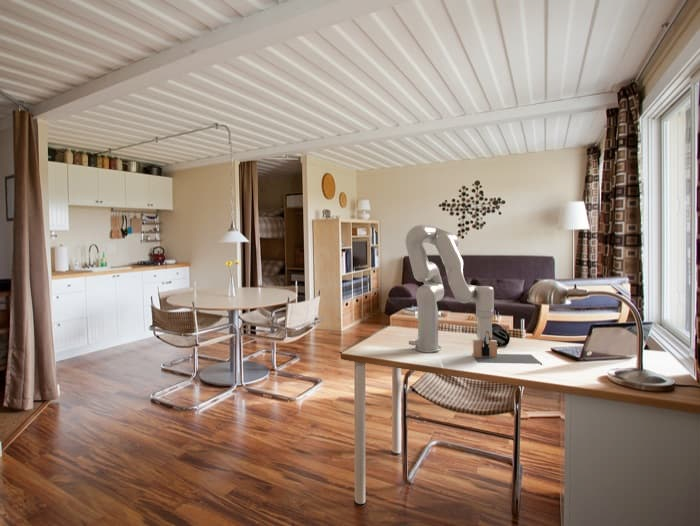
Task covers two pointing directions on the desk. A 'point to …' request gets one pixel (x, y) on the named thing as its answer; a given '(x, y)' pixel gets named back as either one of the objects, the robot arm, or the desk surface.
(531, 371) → the desk surface
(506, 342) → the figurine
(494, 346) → the block
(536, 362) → the mat
